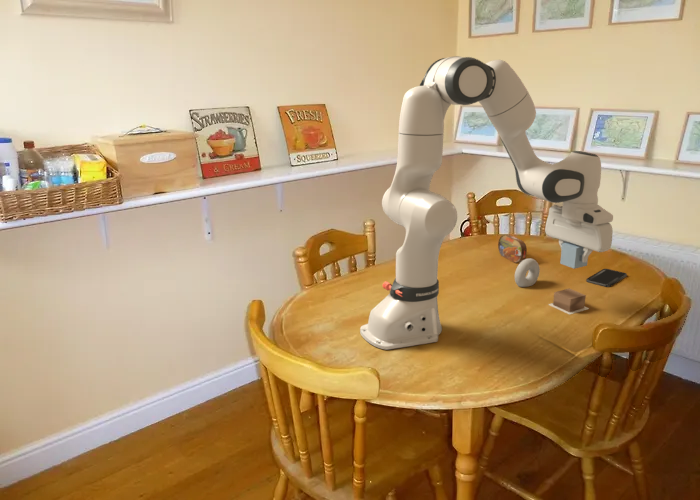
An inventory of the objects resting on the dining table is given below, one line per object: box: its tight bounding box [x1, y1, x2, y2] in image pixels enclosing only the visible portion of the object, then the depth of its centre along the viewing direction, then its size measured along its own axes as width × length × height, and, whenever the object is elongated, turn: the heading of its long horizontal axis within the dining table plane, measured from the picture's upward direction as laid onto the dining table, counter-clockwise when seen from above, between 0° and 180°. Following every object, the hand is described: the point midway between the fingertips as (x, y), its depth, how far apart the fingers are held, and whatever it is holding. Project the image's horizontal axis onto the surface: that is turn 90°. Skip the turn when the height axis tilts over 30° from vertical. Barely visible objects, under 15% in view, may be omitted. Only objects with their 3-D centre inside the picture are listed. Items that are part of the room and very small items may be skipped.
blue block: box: [559, 242, 588, 269], centre depth 156 cm, size 5×5×6 cm
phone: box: [585, 268, 628, 288], centre depth 185 cm, size 8×1×15 cm
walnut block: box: [553, 288, 587, 312], centre depth 160 cm, size 6×6×4 cm
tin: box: [497, 234, 528, 263], centre depth 204 cm, size 15×3×8 cm, turn 17°
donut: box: [514, 258, 541, 288], centre depth 177 cm, size 10×4×10 cm, turn 123°
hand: (574, 258), depth 156 cm, fingers closed on blue block, 5 cm apart
